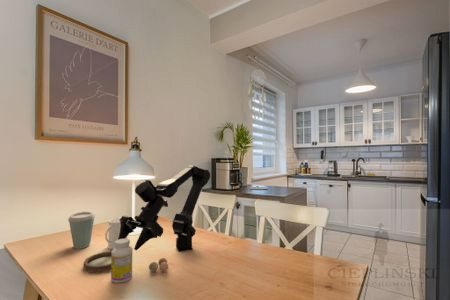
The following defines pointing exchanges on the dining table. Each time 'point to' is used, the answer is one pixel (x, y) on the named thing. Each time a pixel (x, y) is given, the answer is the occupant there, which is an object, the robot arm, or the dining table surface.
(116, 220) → the mug
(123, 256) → the supplement bottle
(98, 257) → the faceted wooden bowl
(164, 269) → the pinkish tan ball
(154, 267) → the bead maple
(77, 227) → the disposable coffee cup
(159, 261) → the bead honey
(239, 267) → the dining table surface
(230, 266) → the dining table surface
